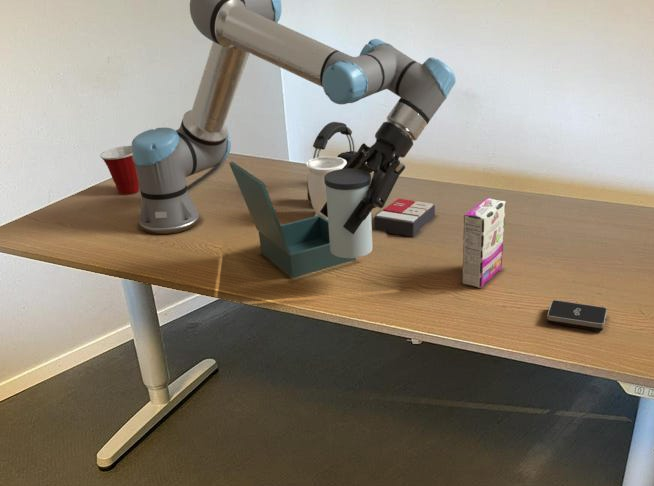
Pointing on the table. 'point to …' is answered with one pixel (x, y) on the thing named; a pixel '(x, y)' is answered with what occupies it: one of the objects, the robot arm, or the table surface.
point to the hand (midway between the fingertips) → (336, 222)
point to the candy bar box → (483, 242)
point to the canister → (347, 212)
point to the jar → (321, 179)
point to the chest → (303, 247)
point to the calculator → (404, 217)
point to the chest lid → (260, 206)
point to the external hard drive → (577, 315)
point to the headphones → (326, 135)
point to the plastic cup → (122, 169)
